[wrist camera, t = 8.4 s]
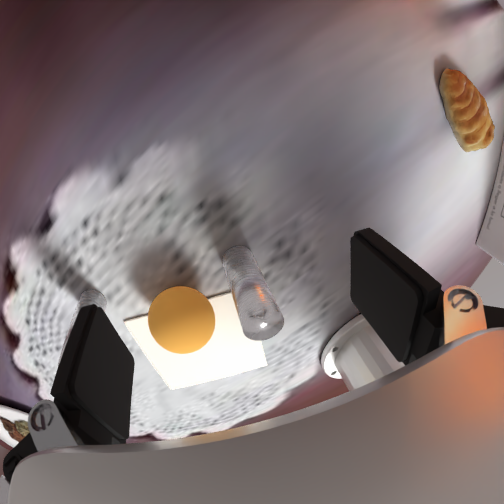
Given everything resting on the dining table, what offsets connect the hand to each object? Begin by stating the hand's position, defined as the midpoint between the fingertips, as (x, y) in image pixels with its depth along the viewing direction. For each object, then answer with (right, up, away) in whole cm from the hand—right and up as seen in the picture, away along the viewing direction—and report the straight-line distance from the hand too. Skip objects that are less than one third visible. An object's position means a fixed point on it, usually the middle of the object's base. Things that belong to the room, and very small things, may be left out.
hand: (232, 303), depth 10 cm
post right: (-1, +1, +14) cm, 14 cm away
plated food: (-40, -35, +24) cm, 58 cm away
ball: (-5, -4, +12) cm, 14 cm away
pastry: (+23, +17, +12) cm, 31 cm away
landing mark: (-4, -8, +18) cm, 20 cm away
